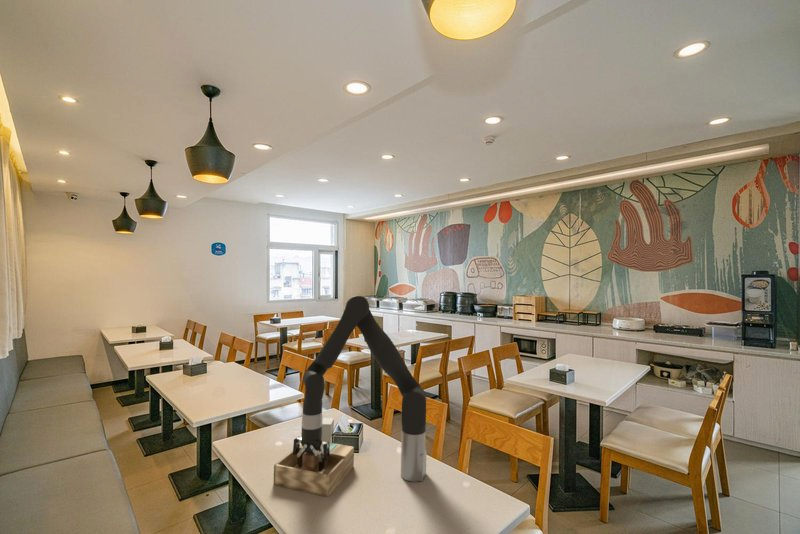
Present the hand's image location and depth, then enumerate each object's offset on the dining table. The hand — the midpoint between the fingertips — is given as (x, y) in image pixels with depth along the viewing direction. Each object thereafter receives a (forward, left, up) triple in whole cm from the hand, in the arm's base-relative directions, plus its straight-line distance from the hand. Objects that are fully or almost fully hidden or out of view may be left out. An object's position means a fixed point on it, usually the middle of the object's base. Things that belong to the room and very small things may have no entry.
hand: (310, 468), depth 133 cm
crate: (0, -4, -4) cm, 5 cm away
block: (0, 0, -2) cm, 2 cm away
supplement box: (+7, -22, -4) cm, 23 cm away
